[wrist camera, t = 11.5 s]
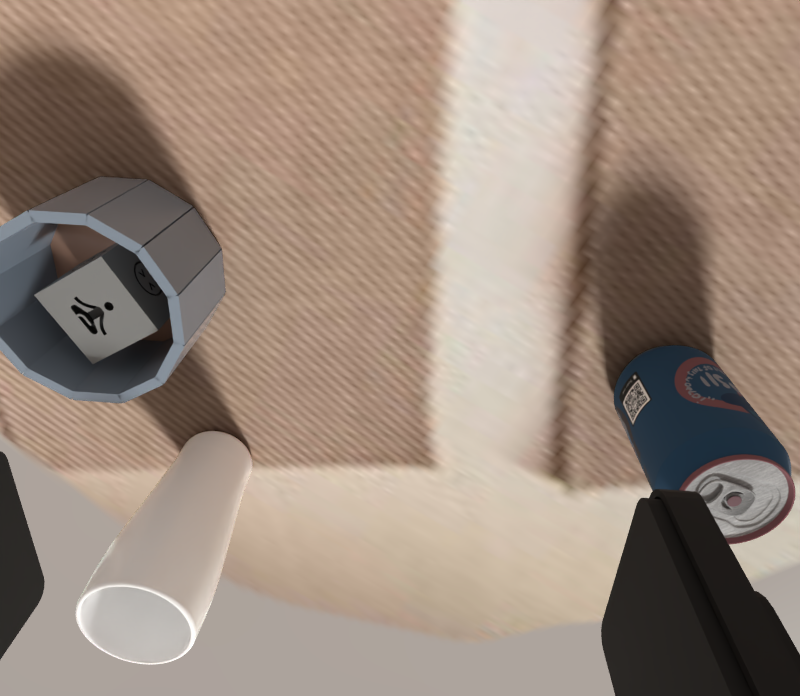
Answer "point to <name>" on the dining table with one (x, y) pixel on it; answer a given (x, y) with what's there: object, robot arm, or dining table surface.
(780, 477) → the soda can
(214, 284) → the cup
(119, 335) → the dice cube
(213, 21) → the dining table surface
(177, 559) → the drinking glass
